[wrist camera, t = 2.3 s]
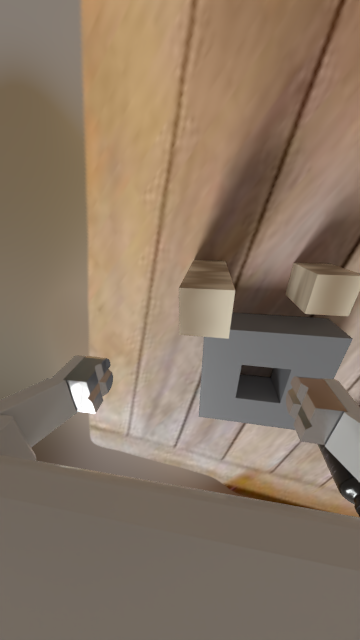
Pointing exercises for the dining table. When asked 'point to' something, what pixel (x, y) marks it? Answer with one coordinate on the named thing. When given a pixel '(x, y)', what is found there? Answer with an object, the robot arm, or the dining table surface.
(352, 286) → the short pin
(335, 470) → the supplement bottle
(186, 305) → the tall pin
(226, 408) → the socket block
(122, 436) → the dining table surface
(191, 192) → the dining table surface
